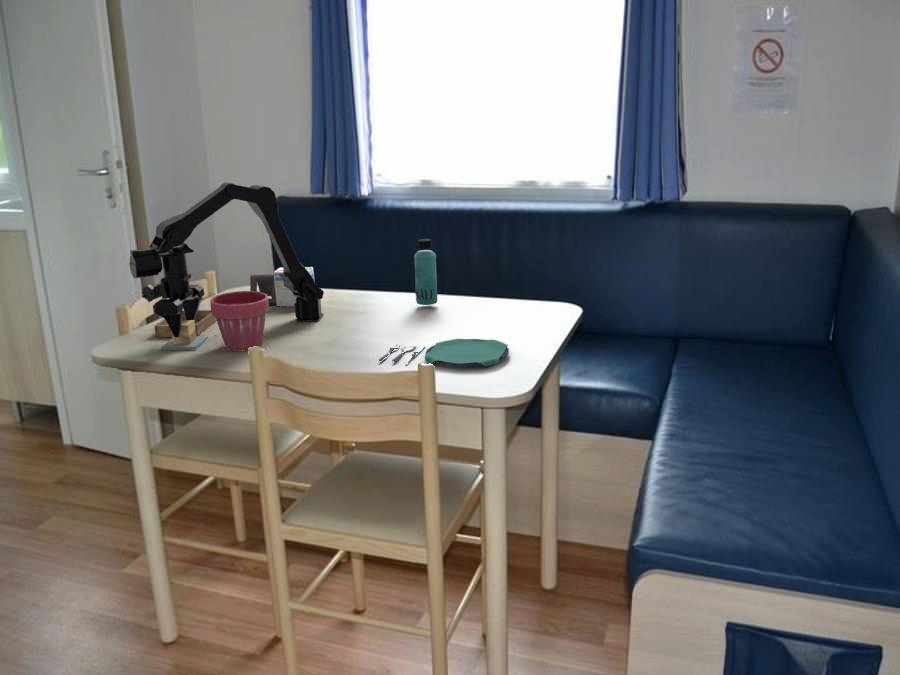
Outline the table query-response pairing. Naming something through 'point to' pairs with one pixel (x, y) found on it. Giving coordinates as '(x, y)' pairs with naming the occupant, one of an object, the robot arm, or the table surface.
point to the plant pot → (240, 318)
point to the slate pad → (193, 345)
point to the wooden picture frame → (202, 315)
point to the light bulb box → (285, 289)
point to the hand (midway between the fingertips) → (183, 331)
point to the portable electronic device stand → (264, 286)
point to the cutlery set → (463, 352)
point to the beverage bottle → (425, 274)
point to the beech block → (186, 333)
